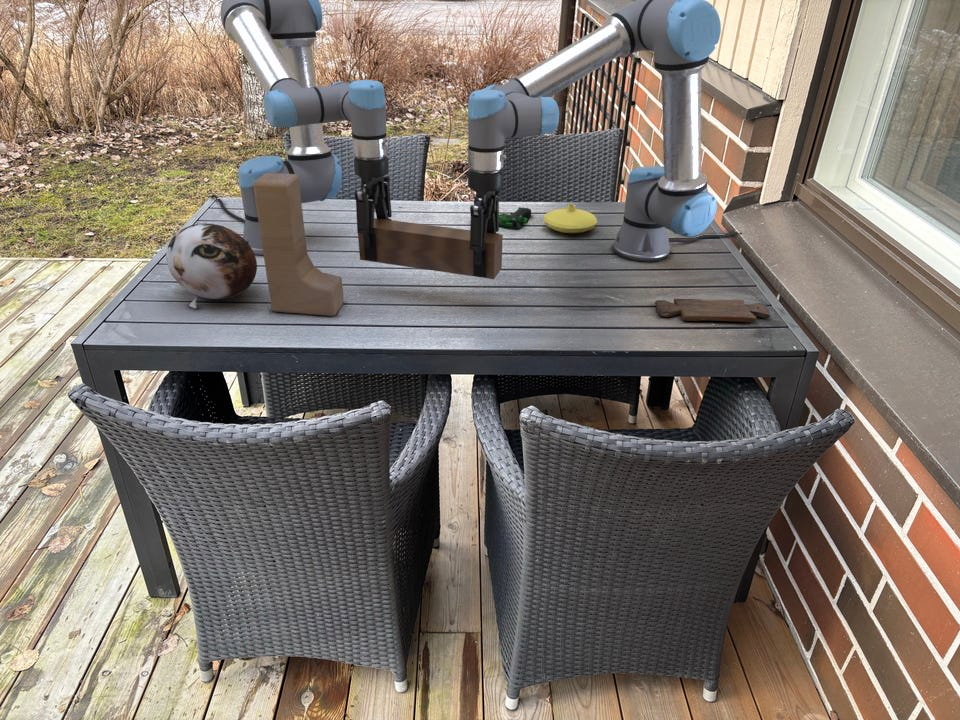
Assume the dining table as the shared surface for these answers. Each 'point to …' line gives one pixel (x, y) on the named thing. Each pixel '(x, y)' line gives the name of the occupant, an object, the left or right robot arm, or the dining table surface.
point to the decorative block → (291, 251)
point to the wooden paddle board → (712, 310)
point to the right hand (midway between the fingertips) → (484, 270)
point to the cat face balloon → (211, 261)
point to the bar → (431, 247)
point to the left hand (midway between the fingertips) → (377, 254)
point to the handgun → (515, 218)
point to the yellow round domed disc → (570, 220)
